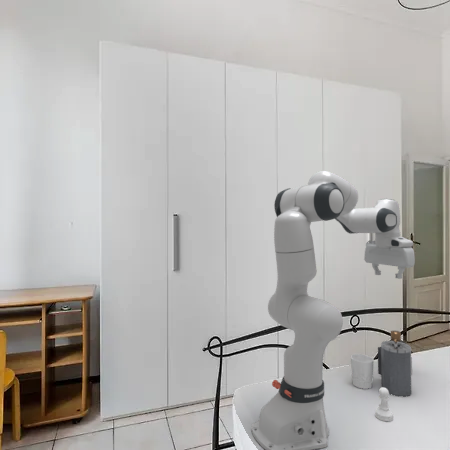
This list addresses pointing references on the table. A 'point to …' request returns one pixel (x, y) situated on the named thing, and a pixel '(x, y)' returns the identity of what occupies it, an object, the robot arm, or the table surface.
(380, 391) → the chess pawn
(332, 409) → the table surface
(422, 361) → the table surface
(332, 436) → the table surface
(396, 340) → the plunger
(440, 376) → the table surface
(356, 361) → the white cup
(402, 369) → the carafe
